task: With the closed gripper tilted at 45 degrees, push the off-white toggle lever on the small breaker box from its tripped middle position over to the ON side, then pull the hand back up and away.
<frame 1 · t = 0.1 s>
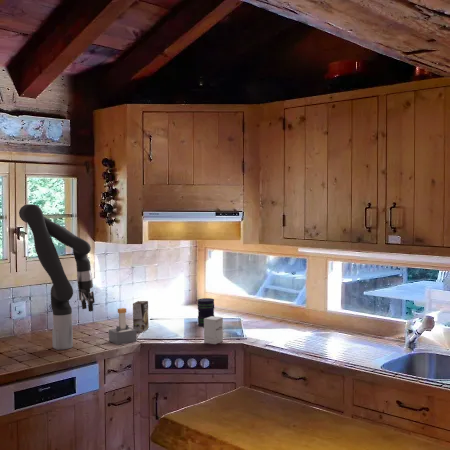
hand: (87, 310, 290), 17 cm above the worktop, tool pointing down, fingers open, 8 cm apart
supplement box: (213, 342, 288), on the worktop
coffee box: (141, 330, 317), on the worktop
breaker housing: (122, 341, 293), on the worktop
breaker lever: (122, 318, 293), point 12 cm above the worktop, hinge at 0.0°
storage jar: (206, 325, 328), on the worktop
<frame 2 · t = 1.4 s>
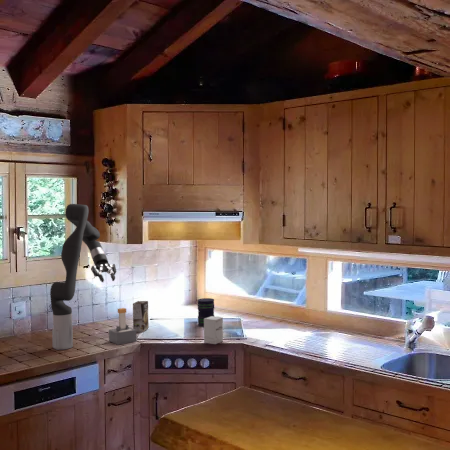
hand: (108, 280, 305), 30 cm above the worktop, tool tilted 45°, fingers open, 5 cm apart
nothing on the worktop moved.
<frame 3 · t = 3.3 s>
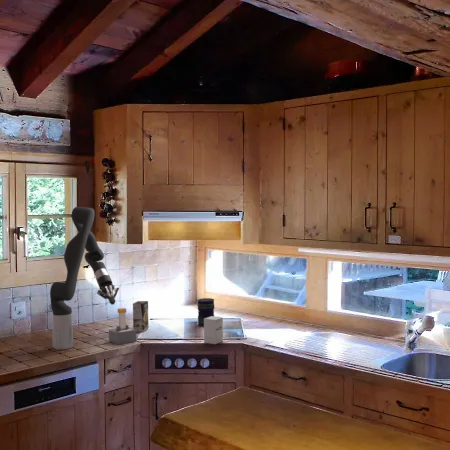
hand: (113, 303, 301), 18 cm above the worktop, tool tilted 45°, fingers closed
nothing on the worktop moved.
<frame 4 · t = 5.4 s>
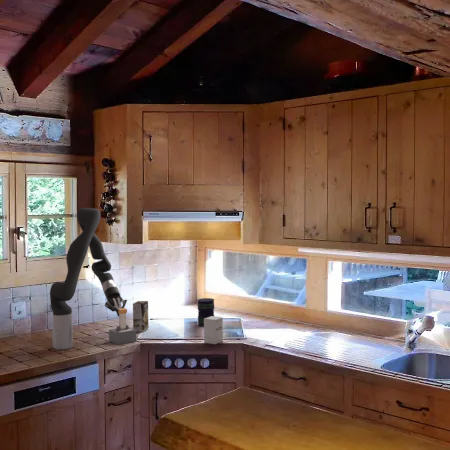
hand: (121, 316, 293), 13 cm above the worktop, tool tilted 45°, fingers closed
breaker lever: (122, 319, 292), point 12 cm above the worktop, hinge at 5.4°, touching gripper
everything else where it was.
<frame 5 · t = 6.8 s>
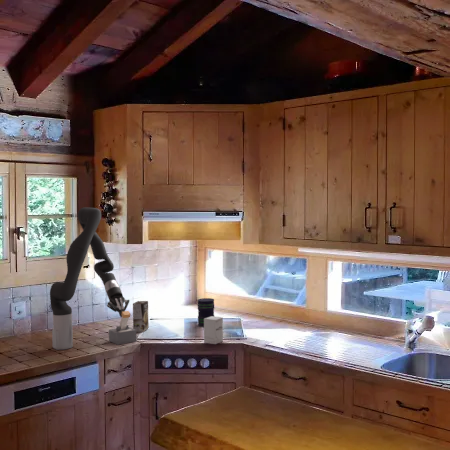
hand: (123, 316, 291), 13 cm above the worktop, tool tilted 45°, fingers closed
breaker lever: (124, 320, 291), point 11 cm above the worktop, hinge at 31.1°
everything else where it was.
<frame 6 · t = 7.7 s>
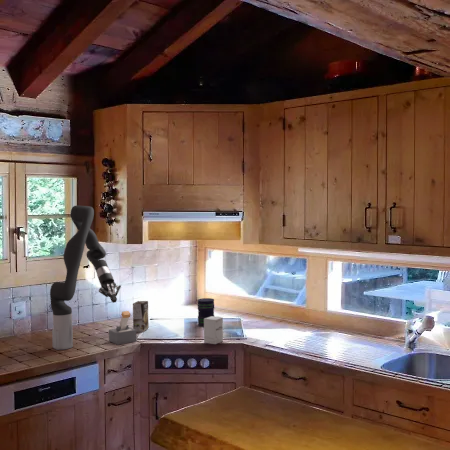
hand: (114, 301, 299), 20 cm above the worktop, tool tilted 45°, fingers closed
nothing on the worktop moved.
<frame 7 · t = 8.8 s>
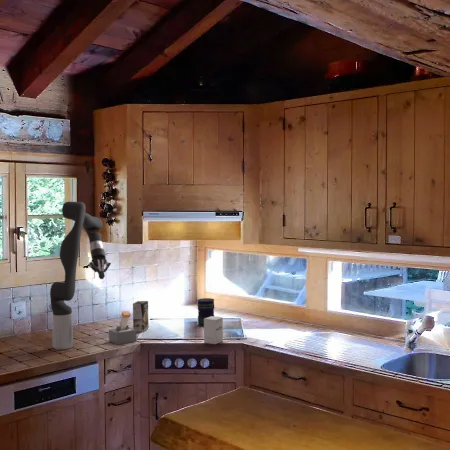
hand: (102, 278, 306), 31 cm above the worktop, tool tilted 30°, fingers closed
nothing on the worktop moved.
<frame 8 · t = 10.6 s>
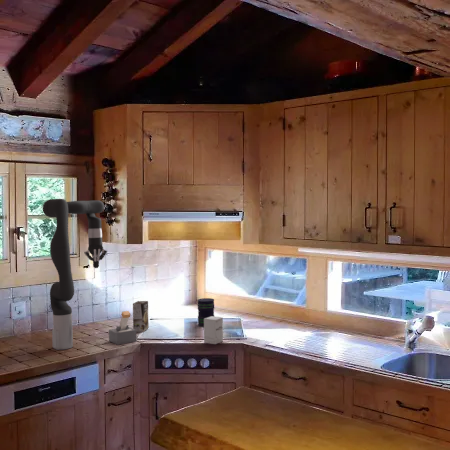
hand: (96, 267, 308), 37 cm above the worktop, tool pointing down, fingers closed
nothing on the worktop moved.
at the end: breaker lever at +31° (first picture: +0°); coffee box moved 0.2 cm from its start; supplement box moved 0.3 cm from its start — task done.
